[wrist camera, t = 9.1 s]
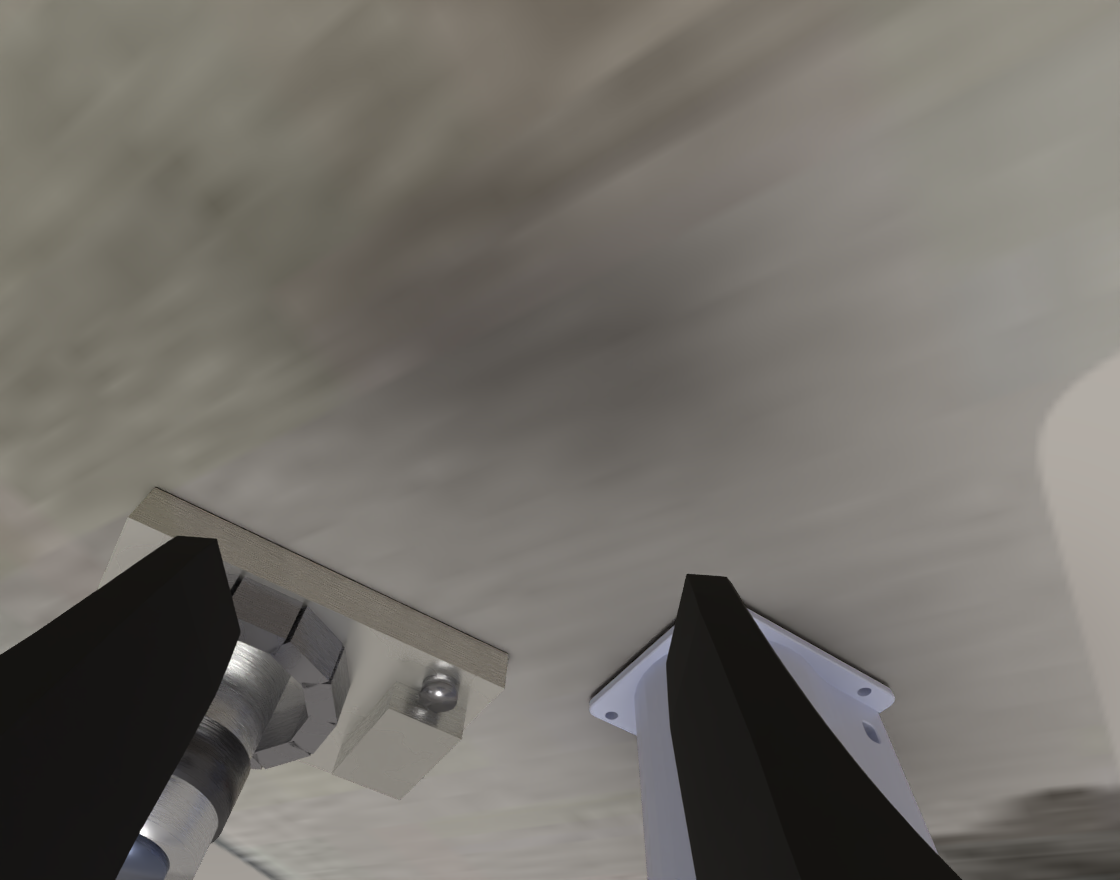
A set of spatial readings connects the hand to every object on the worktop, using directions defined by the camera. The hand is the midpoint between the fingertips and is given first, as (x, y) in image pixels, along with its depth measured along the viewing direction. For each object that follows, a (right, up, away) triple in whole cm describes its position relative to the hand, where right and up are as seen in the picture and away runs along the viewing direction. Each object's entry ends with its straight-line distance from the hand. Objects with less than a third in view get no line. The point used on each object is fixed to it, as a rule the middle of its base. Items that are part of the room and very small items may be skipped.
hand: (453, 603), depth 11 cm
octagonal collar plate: (-9, -6, +16) cm, 19 cm away
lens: (-10, -5, +14) cm, 18 cm away
